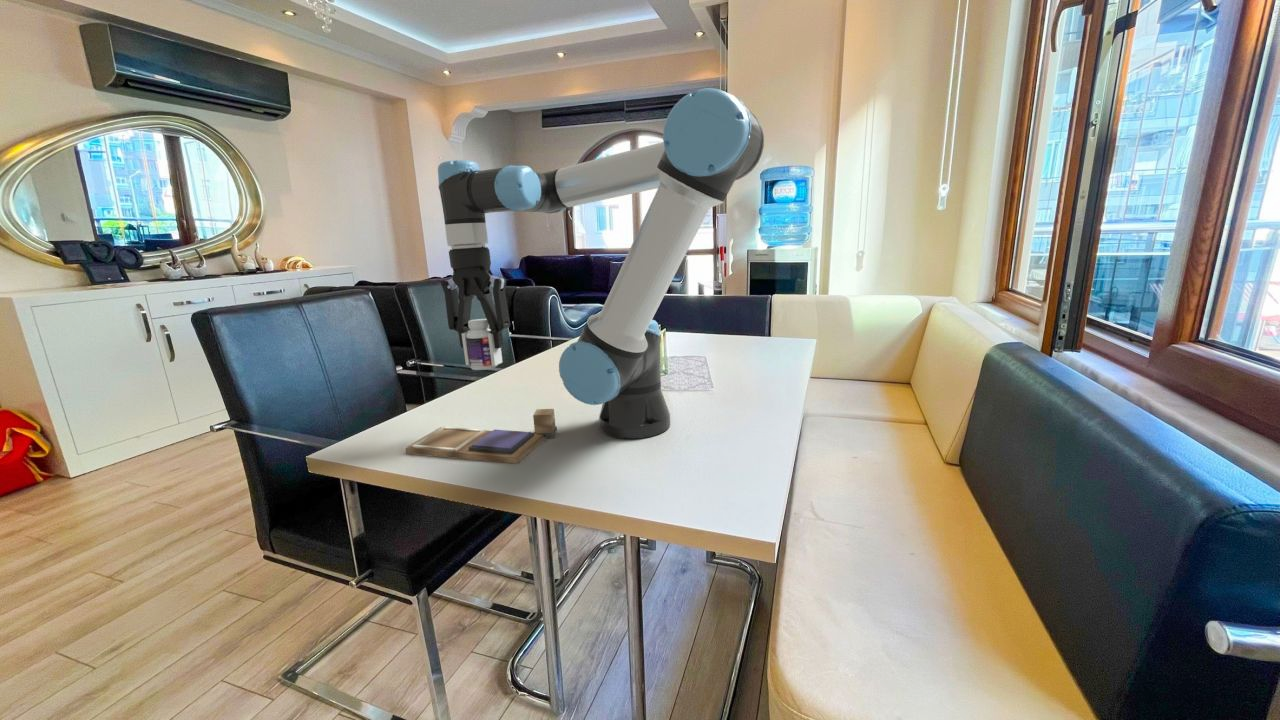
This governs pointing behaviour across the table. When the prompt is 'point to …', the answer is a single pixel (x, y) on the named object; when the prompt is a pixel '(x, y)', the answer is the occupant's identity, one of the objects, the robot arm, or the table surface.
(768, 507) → the table surface
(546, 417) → the stamp block
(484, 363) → the pill bottle
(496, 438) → the board
